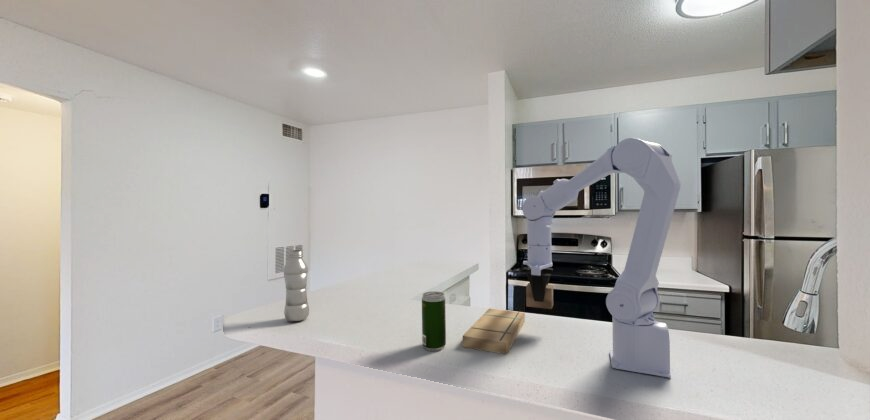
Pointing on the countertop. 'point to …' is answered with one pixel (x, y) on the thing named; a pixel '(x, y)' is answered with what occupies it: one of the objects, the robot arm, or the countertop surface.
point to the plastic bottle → (296, 287)
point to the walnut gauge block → (531, 303)
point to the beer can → (433, 321)
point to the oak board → (494, 331)
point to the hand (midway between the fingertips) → (540, 298)
